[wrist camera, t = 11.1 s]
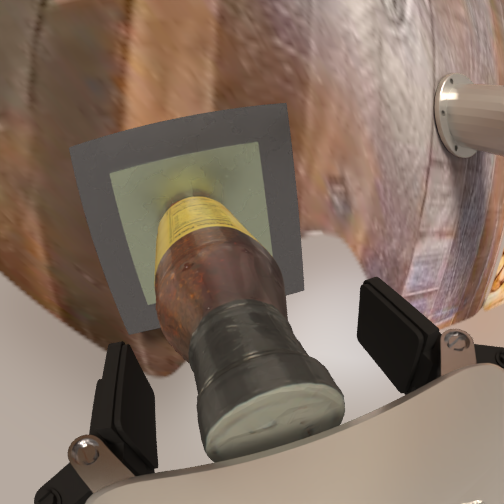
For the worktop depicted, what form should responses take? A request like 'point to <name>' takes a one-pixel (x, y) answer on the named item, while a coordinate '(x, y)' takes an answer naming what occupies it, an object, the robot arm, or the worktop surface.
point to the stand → (187, 193)
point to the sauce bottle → (237, 334)
